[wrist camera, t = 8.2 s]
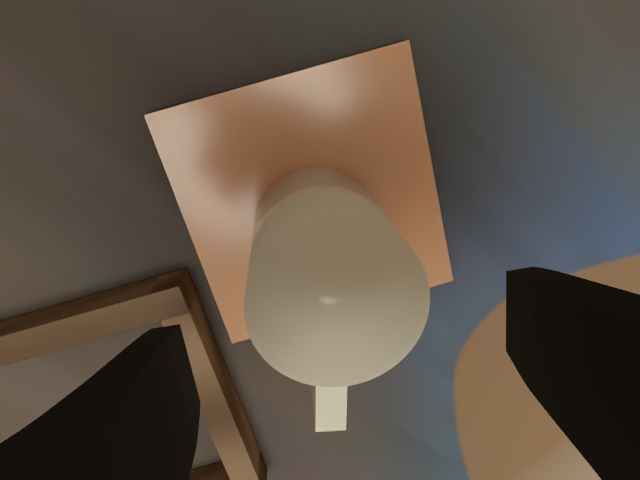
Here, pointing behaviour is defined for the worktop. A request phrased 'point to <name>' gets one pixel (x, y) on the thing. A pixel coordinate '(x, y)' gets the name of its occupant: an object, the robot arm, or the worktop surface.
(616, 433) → the robot arm
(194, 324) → the holder
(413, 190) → the plate
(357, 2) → the worktop surface
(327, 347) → the jug
